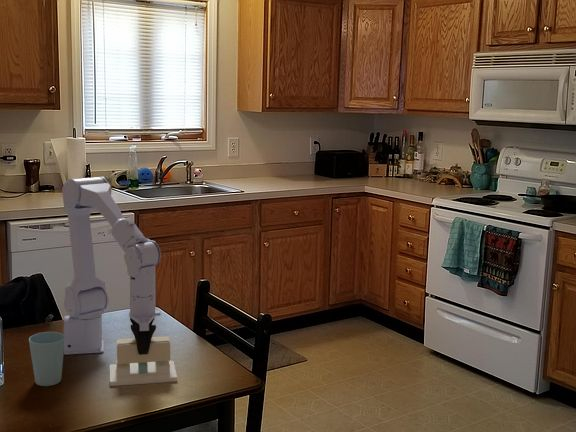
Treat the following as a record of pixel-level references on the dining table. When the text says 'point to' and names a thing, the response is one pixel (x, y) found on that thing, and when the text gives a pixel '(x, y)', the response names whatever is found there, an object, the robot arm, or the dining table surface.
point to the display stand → (142, 373)
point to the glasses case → (130, 354)
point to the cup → (47, 357)
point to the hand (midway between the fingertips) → (142, 350)
